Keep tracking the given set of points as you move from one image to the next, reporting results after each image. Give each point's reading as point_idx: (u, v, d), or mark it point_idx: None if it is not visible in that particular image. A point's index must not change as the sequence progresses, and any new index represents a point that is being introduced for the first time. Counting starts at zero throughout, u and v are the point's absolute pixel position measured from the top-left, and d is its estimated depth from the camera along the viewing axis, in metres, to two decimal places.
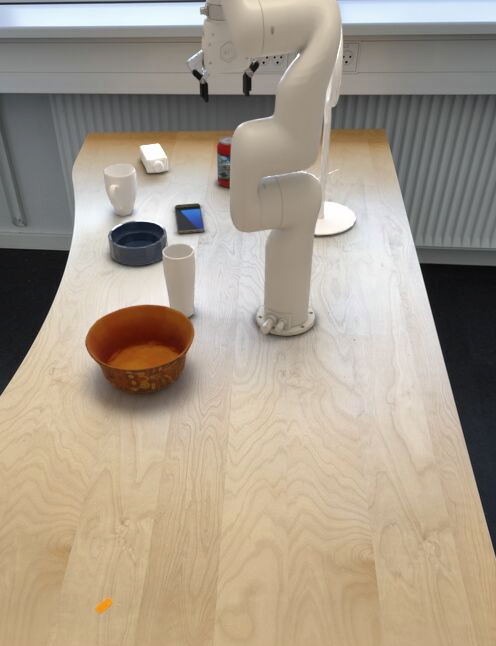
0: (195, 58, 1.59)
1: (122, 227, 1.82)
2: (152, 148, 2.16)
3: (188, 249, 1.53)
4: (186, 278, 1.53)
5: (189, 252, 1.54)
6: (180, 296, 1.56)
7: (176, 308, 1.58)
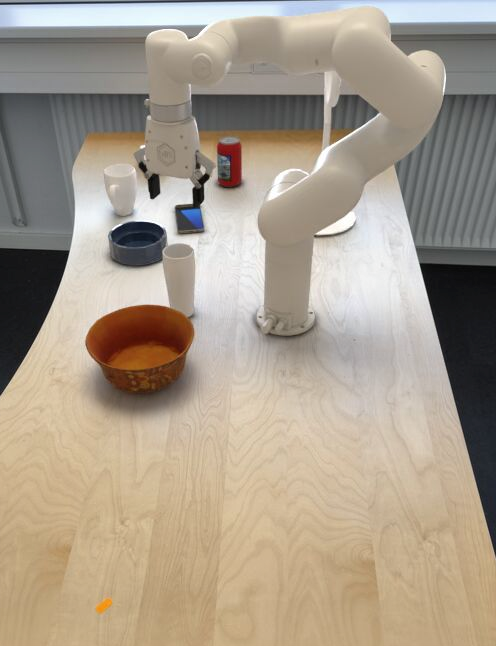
0: (141, 150, 1.41)
1: (122, 227, 1.82)
2: None
3: (188, 249, 1.53)
4: (186, 278, 1.53)
5: (189, 252, 1.54)
6: (180, 296, 1.56)
7: (176, 308, 1.58)
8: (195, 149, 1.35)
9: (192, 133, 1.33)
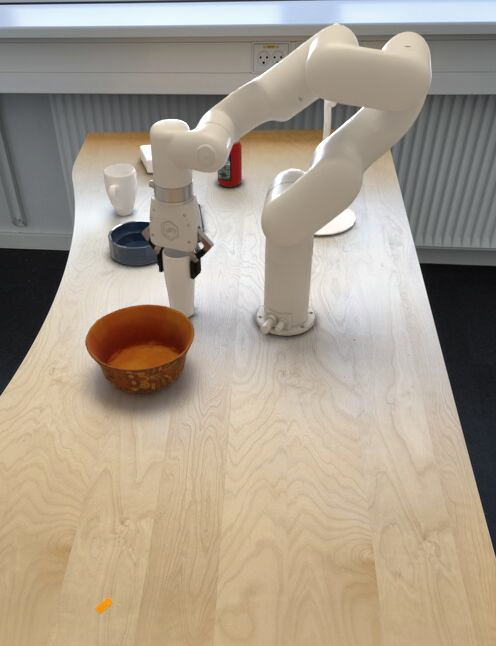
0: (147, 228, 1.50)
1: (122, 227, 1.82)
2: None
3: None
4: (186, 278, 1.53)
5: None
6: (180, 296, 1.56)
7: (176, 308, 1.58)
8: (197, 225, 1.44)
9: (194, 212, 1.42)
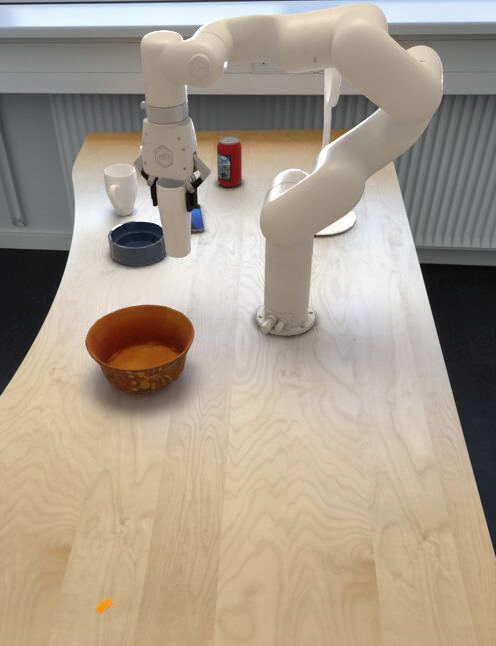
0: (140, 157, 1.40)
1: (122, 227, 1.82)
2: None
3: (183, 181, 1.44)
4: (182, 211, 1.43)
5: None
6: (176, 232, 1.46)
7: (172, 246, 1.48)
8: (193, 150, 1.35)
9: (189, 134, 1.32)
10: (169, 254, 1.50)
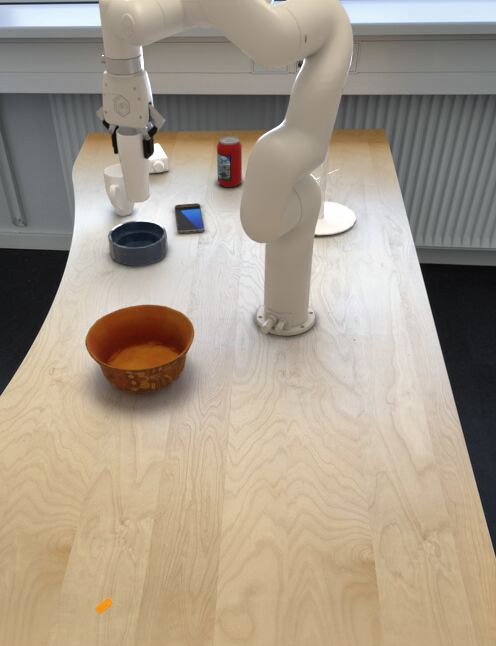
0: (101, 108, 1.55)
1: (122, 227, 1.82)
2: None
3: None
4: (139, 158, 1.58)
5: (142, 133, 1.59)
6: (135, 178, 1.61)
7: (131, 191, 1.63)
8: (148, 100, 1.50)
9: (144, 85, 1.47)
10: (129, 199, 1.65)
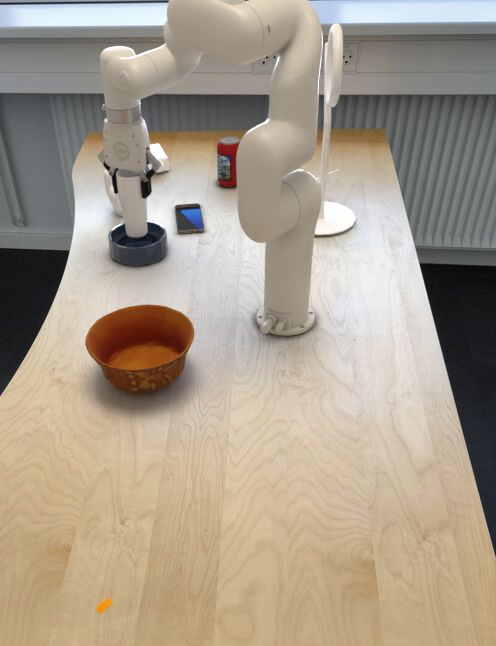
0: (102, 151, 1.66)
1: (122, 227, 1.82)
2: (153, 148, 2.16)
3: None
4: (138, 197, 1.68)
5: None
6: (133, 216, 1.71)
7: (130, 227, 1.74)
8: (145, 146, 1.60)
9: (142, 133, 1.58)
10: (128, 234, 1.76)
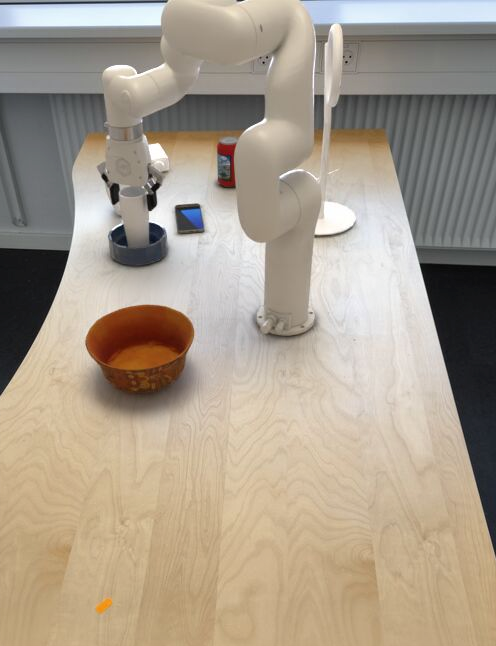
0: (102, 164, 1.68)
1: (122, 227, 1.82)
2: (153, 148, 2.16)
3: (142, 191, 1.72)
4: (140, 216, 1.72)
5: (143, 193, 1.73)
6: (136, 234, 1.75)
7: (133, 245, 1.77)
8: (147, 162, 1.63)
9: (144, 149, 1.61)
10: None
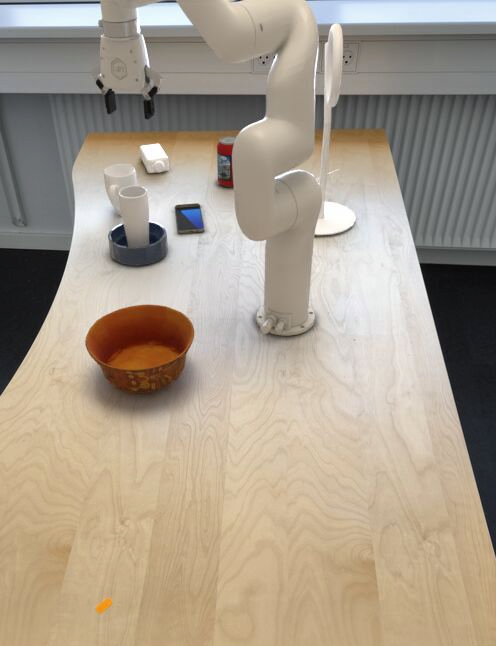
0: (97, 68, 1.60)
1: (122, 227, 1.82)
2: (153, 148, 2.16)
3: (142, 191, 1.72)
4: (140, 216, 1.72)
5: (143, 193, 1.73)
6: (136, 234, 1.75)
7: (133, 245, 1.77)
8: (144, 63, 1.54)
9: (140, 48, 1.52)
10: None
